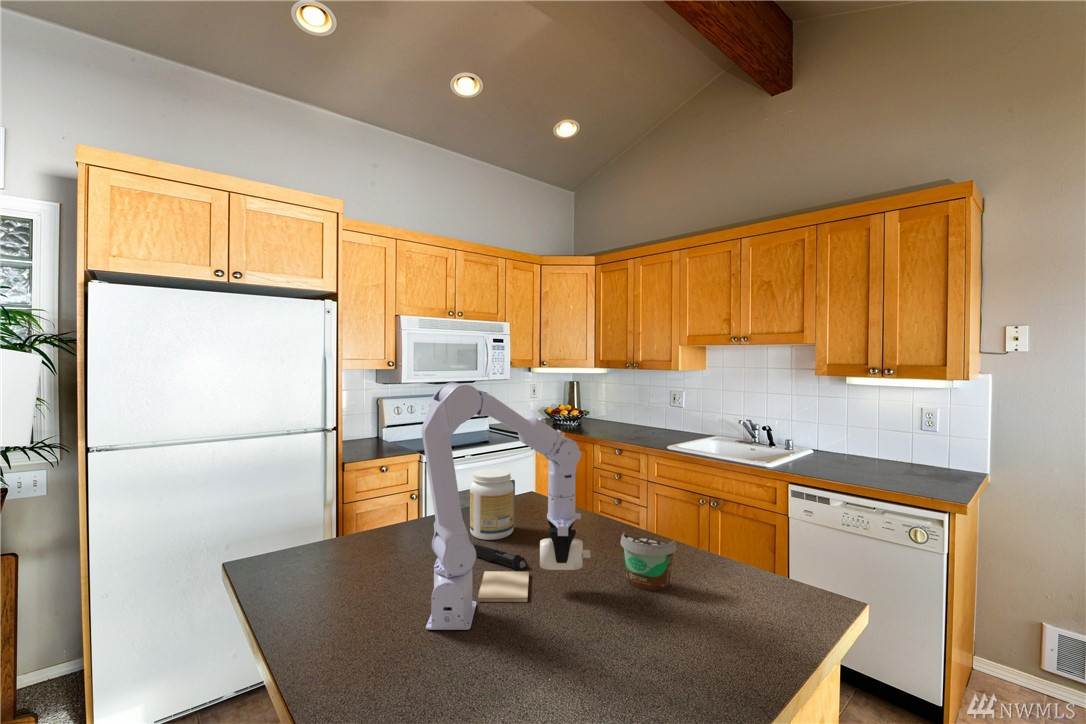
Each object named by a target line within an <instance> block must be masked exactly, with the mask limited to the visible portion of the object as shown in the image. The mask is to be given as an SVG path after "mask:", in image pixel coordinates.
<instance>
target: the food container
mask: <svg viewBox="0 0 1086 724" xmlns="http://www.w3.org/2000/svg"><path fill="white" fill-rule="evenodd" d="M620 545H621V547H622V548H623V551H624V552H623V553H624V554H623V555H624V564H625V574H626V582H627V583H628V584H629V585H630V586H632V587H633V588H635V589H637V588H638V590H639V591H645V592H646V591H647V592H659V590H660V591H663V590H665V589H667V588H669V587H670V583H671V574H672V566H673V558H674V553H675V552H676V551H678V549H677V543H676V542H675V540H672V541H670V542H665V541H664V542H663V541H660V540H656V539H654V538H650V537H639V536H638V537H636V536H631V535H626V533H625V530H624V531H623V532H622V535H621V538H620Z"/></svg>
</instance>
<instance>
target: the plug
mask: <svg viewBox="0 0 1086 724" xmlns="http://www.w3.org/2000/svg"><path fill="white" fill-rule="evenodd" d="M583 544H584V542H583V540H581V539H579V538H573V540H572V543H571V546H570V550H569V556H568V560H567V563H557V562H556V558H555V551H554V546H553V542H552V539H551V537H547V538H543V539H541V540H539V567H540V568H542V569H543V570H549V571H550V570H551V571H553V570H554V571H556V570H559V571H563V570H564V571H571V570H572V571H575V570H580V569H582V568H583V564H584V563H583V561H584V560H583V559H591V557H592V555H591V550H590V549H584V548H583V546H584V545H583Z"/></svg>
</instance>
